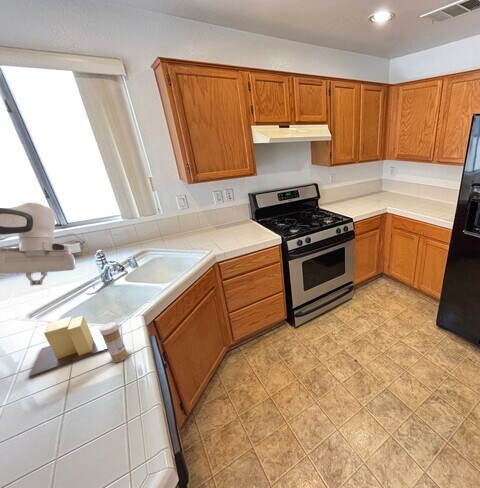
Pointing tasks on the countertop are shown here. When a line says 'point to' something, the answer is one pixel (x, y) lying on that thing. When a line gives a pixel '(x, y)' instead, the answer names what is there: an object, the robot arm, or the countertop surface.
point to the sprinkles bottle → (113, 341)
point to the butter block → (60, 338)
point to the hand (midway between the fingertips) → (36, 285)
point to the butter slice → (80, 335)
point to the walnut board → (50, 362)
